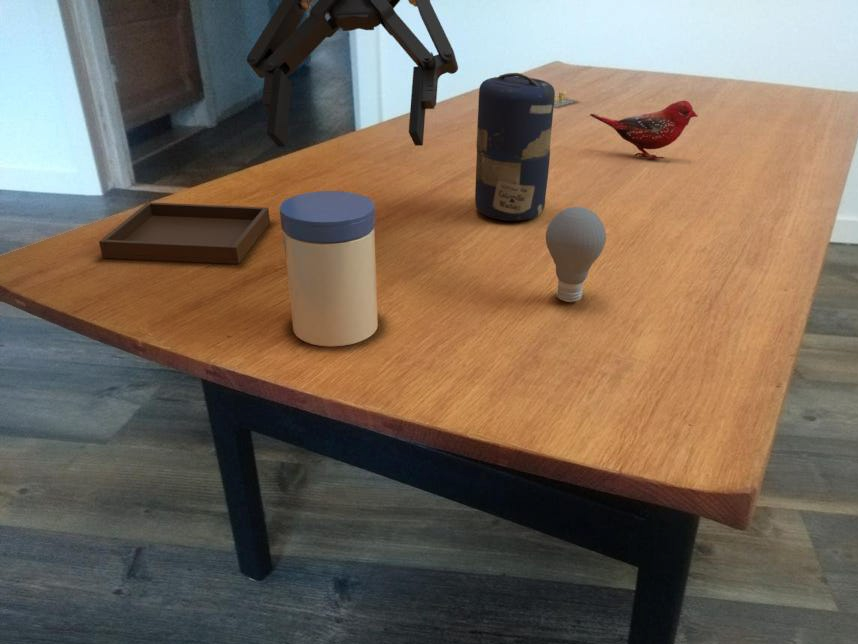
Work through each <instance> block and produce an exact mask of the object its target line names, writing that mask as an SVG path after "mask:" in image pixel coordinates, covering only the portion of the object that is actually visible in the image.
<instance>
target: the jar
mask: <svg viewBox="0 0 858 644" xmlns="http://www.w3.org/2000/svg"><path fill="white" fill-rule="evenodd" d="M282 235H283V245H284V253H285V254H284V255H285V263H286V265H285V266H286V273H287V274H286V275H287V282H288V293H289V302H290V313H291V314H290V315H291V322H292V330H293V331H292V332H293V333H294V335H295V336H296V338H299V340H301V341H303V342H305V343H307V344H311V345H314V346H321V347H344V346H349V345H354V344H357V343H360V342H362V341H365V340H367V339H368V338H370V337H372V335H374V334H375V333H376V331H377V329H378V326H379V318H378V317H379V313H378V291H377V290H378V289H377V264H376V263H377V262H376V261H377V259H376V234H375V228H374V229H373V230H372V231H371V232H369V233H368V234H366V235H364V236H361V237H358V238H355V239H351V240H346V241H338V242H312V241H305V240H300V239H297V238H294V237H291V236H289V235H287V234H286V233H285V232H284V231H283V230H282Z"/></svg>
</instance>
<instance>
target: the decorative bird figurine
mask: <svg viewBox="0 0 858 644" xmlns="http://www.w3.org/2000/svg"><path fill="white" fill-rule="evenodd" d="M589 116H591V117H592V118H594V119H596V120H597V121H599V122H602V123H604V124H605V125H607V126H609V127H611V128H612V129H613V130H615V132H616V133H617V134H618V135H619V136H620V137H621V138H622V139H623V140H625V141H627V142H629V143H630V144H632V145H633V146H635V147H636V148H637V149H638V150H639V151H640V152H637V153H635V154H634V156H638V158H645V159H646V158H647V159H650V160H656V159H657V160H659V159H661V160H662V159H663V160H665V159H666V157H664V156H657V155H656V154H650V153H649V152H647V151H646V150H658V149H663V148H665V147H668V146H669V145H671V144H672V143H673V142H675V141H677V140H678V138H679V137H680V136H681V135H682V134H683V131H684V130H685V128H686V127H687V126H689V123H690V121H691V119H692V118H698V114H697V112H695V111H694V108H693V106H692V104H691V103H690V102H689V101H687V100H679V101H676V102H672V103H671V104H669V105H668V106H667V107H665V108H663V109H661V110H659V111H655V112H650V113H643V114H638V115H633V116H629V117H626V118H622V119H619V120H617V119H612V118H608V117H607V116H606V117H605V116H602V115H598V114H595V113H590V114H589Z"/></svg>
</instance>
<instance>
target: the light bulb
mask: <svg viewBox="0 0 858 644" xmlns="http://www.w3.org/2000/svg"><path fill="white" fill-rule="evenodd" d="M606 241H607V231H606V228H605V225H604V223H603V221H602V220H601V217H599V216H598V214H596V213H595V212H594V211H593V210H590V209H588V208H587V207H582V206H571V207H567V208H564V209H562V210H561V211H559V212H558V213H557V214H556V215H555V216H554V217H553V218H552V219H551V221H550V222H549V224H548V226H547V228H546V231H545V244H546V247H547V250H548V252H549V254H550V257H551V258H552V260H553V263H554V265H555V274H556V278H557V279H558V281H557V285H558V286H557V292H556V297H557V298H558V299H559V300H561V301H563V302H566V303H574V302H578V301H580V300H581V299H582V296H583V289H584V282H585V280H586V279H587V278H588V276H589V272H590V269H591V267H592V266H593V265H594V264H595V262H596V261H597V259H598V258H599V257H600V256H601V254H602V252H603V251H604V248H605V245H606V243H607V242H606Z"/></svg>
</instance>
